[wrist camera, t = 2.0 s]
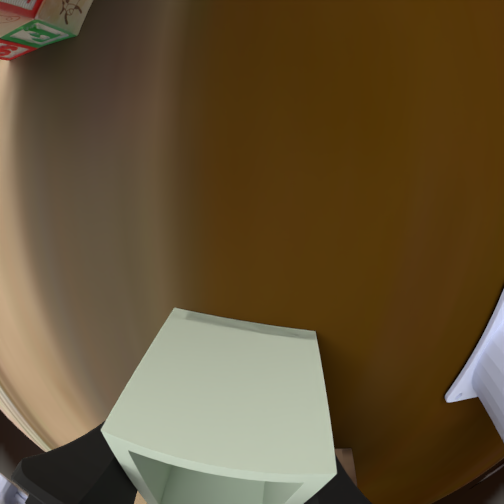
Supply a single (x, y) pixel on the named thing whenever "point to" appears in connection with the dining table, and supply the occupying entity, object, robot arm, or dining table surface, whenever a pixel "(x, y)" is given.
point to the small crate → (225, 415)
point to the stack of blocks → (38, 24)
